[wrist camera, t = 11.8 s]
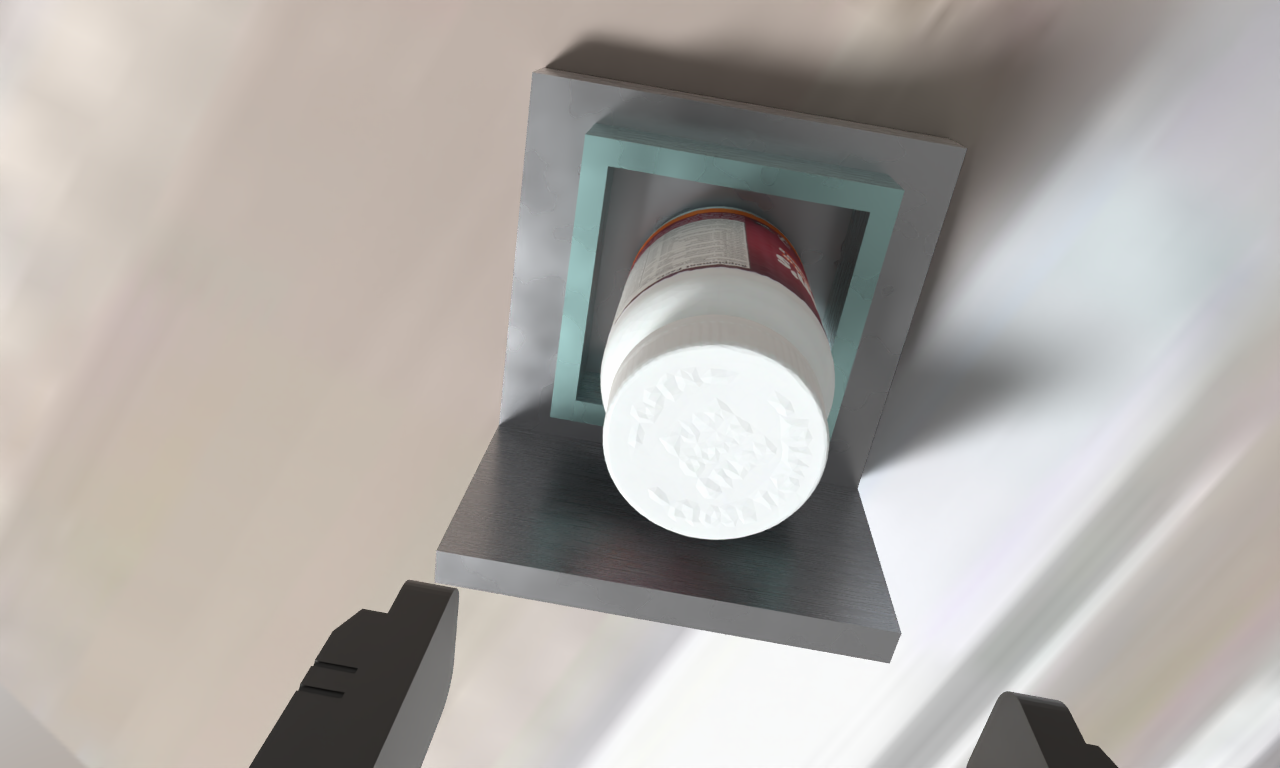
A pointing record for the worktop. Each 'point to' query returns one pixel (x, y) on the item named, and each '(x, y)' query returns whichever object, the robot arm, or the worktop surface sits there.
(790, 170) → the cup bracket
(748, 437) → the pill bottle
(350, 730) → the robot arm
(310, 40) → the worktop surface
